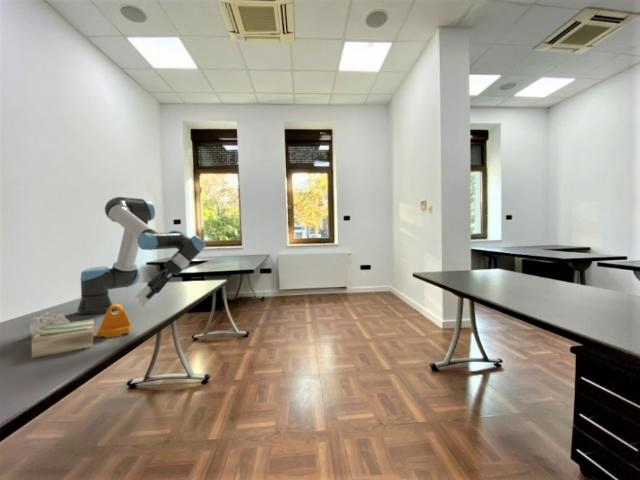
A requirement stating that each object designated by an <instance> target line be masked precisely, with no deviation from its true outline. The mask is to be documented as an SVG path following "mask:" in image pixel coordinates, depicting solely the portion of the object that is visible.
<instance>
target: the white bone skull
mask: <svg viewBox="0 0 640 480" xmlns="http://www.w3.org/2000/svg"><path fill="white" fill-rule="evenodd" d="M63 323H70V320H69V319H68V318H67V317H66V316H65V314H64V312H61V313H58V314H57V313H52V312H50V311H47V312H46V311H45V314H44V315H41V316H38V317H36V316H34V317H33V318H32V321H31V322H30V325H29V330H30V331H29V332H30V336H31V339H33V338H34V336H35V335H36V333H37V332H38V331H39V329H40V328H41V327H42V326H48V325H56V324H63Z"/></svg>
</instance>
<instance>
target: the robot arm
mask: <svg viewBox="0 0 640 480" xmlns="http://www.w3.org/2000/svg"><path fill="white" fill-rule="evenodd" d="M155 210H156V209H155V206H154V204H153V202H151V201H150V200H149V199H143V198H135V197H125V196H124V197H123V196H118V197H113V198H111V199H109V200H108V201H107V202H106V204H105V206H104V214H105V215H106V217H107V218H108V219H109V220H111V221H112V222H114V223H118V224H119V225H120V226H121V227H123V229H124V230H123V235H122V237H121V238H122V239H121V243H120V247H119V252H118V255H117V260H116V261H115V262H114V263H112V268H109V267H108V266H96V267H90V268H87V269H84V270H82V271H81V273H80V279H79V280H80V290H81V291H80V292H81V293H80V296H81V297H80V301H79V303H78V306H77V310H76V311H77V314H78V315H94V314H95V315H96V314H101V313H106V312H107V310H108V308H109V307H110V306H111V305H113V302H112V299H111V298H110V295H109V290H113V289H114V290H115V289H123V288H129V287H132V286H135V285H136V284H137V283H138V281H139V279H140V276H141V275H140V270H139V267H137V266H138V265H136V260H137V255H138V252H139V248H140V249H141V250H145V251H146V250H149V251H154V250H169V249H171V250H172V249H177V251H176V252H175V253H174V254H173V255H172V256H171V257H170V259H168V260H166V262H165V263H164V264H163V266H164V267H165V268H166V269H165V268H164V269H162V270H161V271H160V272H159V273H158V274H156V276H154V277H153V278H152V279H150V280H149V281H147V284H146V285H145V286H144V287H143V288H142V289H141V290H140V291H139V292H138V293H137V294H136V295H135V298H137V299H138V301H137V303H138V304H140V305H141V306H142V307H144V306H145V305H146V304H147V303H148V302H149V301H150V300H151V299H152V298H153V297H154V296H156V295H157V294H159V293H160V292H161V291H162V289H163V288H164V287H165V286H166V285H167V283H168V282H169V281H170V280H171V279H172V278H173V277H174V275H175V276H178V275H179V274H180V273H181V272H182V271H183V269H185V268H186V267H189V264H190V263H191V262H192V261H193V260H194V259H195V258H196V257H197V256H198V255H199V254H200V253H202V251H203V250H204V249H205V247H206V242H204V240H202V238H200V237H199V236H198V235H193V236H192V237H189V236H188V235H186V234H185V233H184V232H182V231H180V230H177V229H172V230H170V231H169V232H157V231H156V230H155V229H153V228H152V227H151V226H149V225H148V223H149V222H151V221H153V220H154V219H155V217H156V216H155V215H156V211H155Z"/></svg>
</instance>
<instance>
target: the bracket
mask: <svg viewBox="0 0 640 480" xmlns="http://www.w3.org/2000/svg"><path fill="white" fill-rule="evenodd" d="M112 310H117V311H118V312H117V313H114V312H113V311H112ZM131 330H132V322H131V320H130V317H129V315H128V314H127V312H126V310H125V308H124V306H123V305H122V304H120V303H114V304H113V303H112V305H111V306H110V307H109V308H108V310H107V312H105V316H104V317H103V321H102V322H101V325H100V326H99V329H98V330H97V331H96V332H97V338H98V337H104V338H113V337H114V338H115V337H121V336H123V334H129V333H130V332H131Z"/></svg>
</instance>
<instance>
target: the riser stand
mask: <svg viewBox="0 0 640 480" xmlns="http://www.w3.org/2000/svg"><path fill="white" fill-rule="evenodd" d="M69 322H70V321H69ZM94 338H95V319H93V318H92V319H86V320H80V321H78V320H77V321H71V322H70V323H63V324H56V325H48V326H42V327H41V328H40V329H39V331H38V332H37V333H36V335H35V336H34V338H31V341H30V342H31V358H32V359H34V358H39V357H45V356H50V355H56V354H62V353H67V352H72V350H73V351H77V349H78V350H83V349H82V348H84V349H89V348H92V347H93V344H94ZM88 347H89V348H88Z"/></svg>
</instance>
